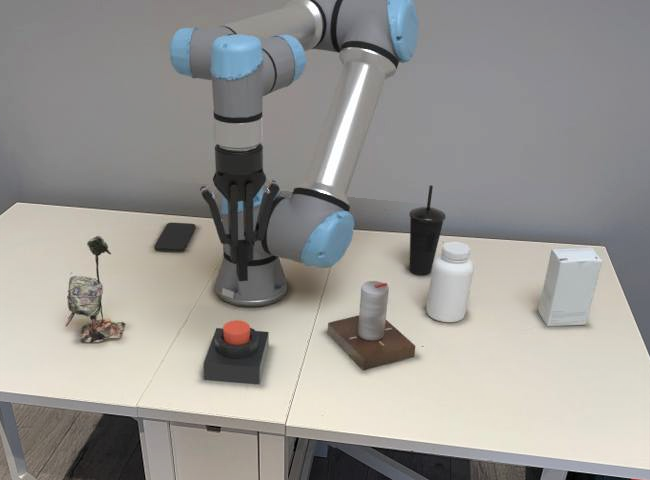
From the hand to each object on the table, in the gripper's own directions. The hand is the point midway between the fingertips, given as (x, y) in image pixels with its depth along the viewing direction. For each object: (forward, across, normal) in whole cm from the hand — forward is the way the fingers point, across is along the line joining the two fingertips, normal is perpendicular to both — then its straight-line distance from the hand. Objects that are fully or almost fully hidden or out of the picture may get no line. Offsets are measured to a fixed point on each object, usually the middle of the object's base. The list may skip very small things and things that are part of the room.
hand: (242, 277), depth 132 cm
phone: (+18, +7, -55) cm, 58 cm away
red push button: (+12, +1, +1) cm, 12 cm away
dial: (+15, -25, 0) cm, 29 cm away
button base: (+17, +2, +1) cm, 17 cm away
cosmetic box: (+18, -66, -1) cm, 68 cm away
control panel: (+18, -24, 0) cm, 30 cm away
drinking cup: (+18, -45, -27) cm, 56 cm away
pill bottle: (+18, -44, -8) cm, 48 cm away
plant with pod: (+17, +26, -15) cm, 35 cm away
